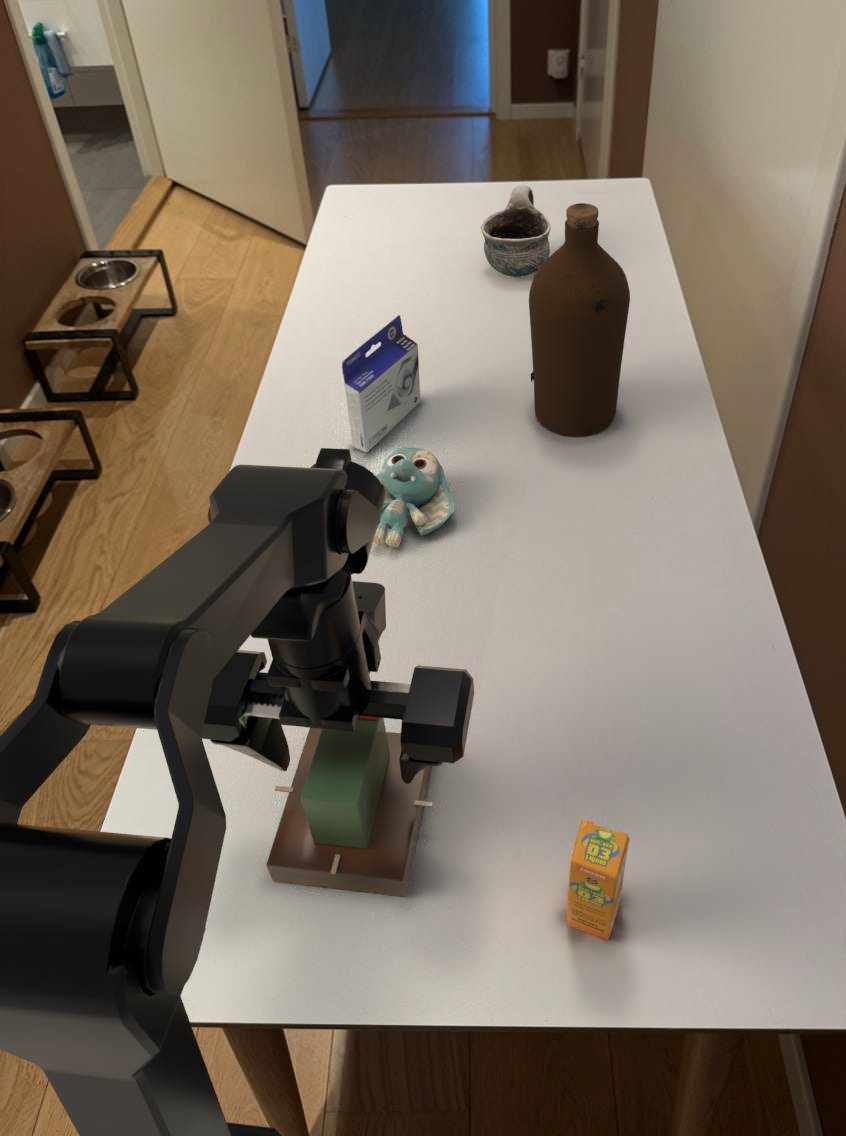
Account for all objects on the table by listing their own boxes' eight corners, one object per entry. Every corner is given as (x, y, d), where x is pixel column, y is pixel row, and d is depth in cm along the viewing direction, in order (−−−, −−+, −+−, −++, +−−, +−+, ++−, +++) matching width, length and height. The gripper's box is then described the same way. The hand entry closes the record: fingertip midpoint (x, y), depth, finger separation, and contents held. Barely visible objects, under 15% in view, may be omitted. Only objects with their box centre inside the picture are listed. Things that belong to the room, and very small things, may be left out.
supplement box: (562, 929, 67) (565, 858, 60) (577, 884, 69) (582, 811, 62) (608, 946, 66) (617, 876, 59) (622, 900, 68) (632, 828, 61)
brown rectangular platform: (420, 900, 69) (417, 882, 67) (257, 881, 70) (250, 863, 68) (447, 754, 78) (445, 735, 76) (302, 739, 79) (297, 720, 77)
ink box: (368, 455, 107) (355, 369, 99) (351, 449, 108) (337, 363, 100) (424, 401, 114) (416, 317, 106) (408, 396, 115) (399, 312, 107)
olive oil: (638, 407, 111) (657, 203, 95) (586, 453, 105) (596, 244, 89) (564, 376, 117) (570, 178, 100) (510, 418, 111) (506, 215, 94)
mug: (481, 287, 134) (478, 219, 127) (484, 244, 143) (482, 180, 136) (550, 286, 133) (551, 218, 126) (549, 243, 142) (550, 178, 136)
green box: (367, 849, 69) (356, 803, 65) (313, 843, 69) (299, 797, 65) (390, 753, 75) (381, 705, 71) (340, 748, 75) (329, 701, 71)
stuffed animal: (324, 508, 92) (368, 418, 99) (340, 550, 98) (380, 462, 105) (429, 529, 89) (467, 434, 96) (438, 571, 95) (474, 479, 102)
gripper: (480, 551, 64) (488, 692, 74) (215, 532, 66) (258, 672, 77) (455, 685, 56) (467, 823, 66) (152, 658, 58) (210, 796, 69)
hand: (347, 771), depth 70 cm, fingers open, 9 cm apart
